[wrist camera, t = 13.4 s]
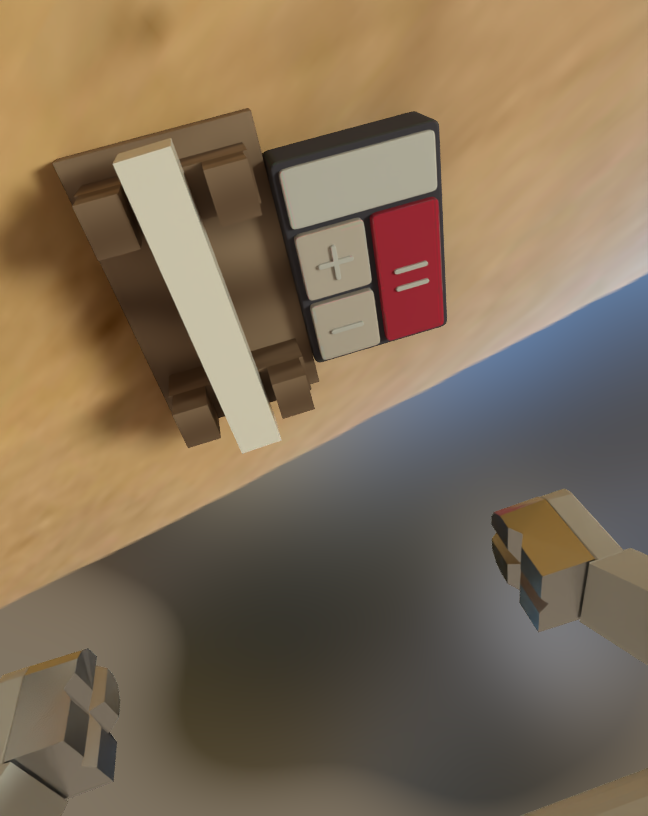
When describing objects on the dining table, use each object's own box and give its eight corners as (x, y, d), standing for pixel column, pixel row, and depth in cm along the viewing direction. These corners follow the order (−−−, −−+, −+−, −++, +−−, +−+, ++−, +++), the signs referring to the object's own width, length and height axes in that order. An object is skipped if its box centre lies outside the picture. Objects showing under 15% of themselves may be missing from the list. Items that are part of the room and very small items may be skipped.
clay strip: (117, 153, 28) (112, 163, 26) (170, 137, 29) (170, 146, 26) (238, 429, 40) (242, 453, 38) (275, 416, 40) (281, 440, 38)
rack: (57, 159, 32) (31, 182, 26) (248, 108, 33) (263, 120, 27) (177, 414, 44) (178, 468, 38) (315, 372, 44) (335, 419, 39)
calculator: (318, 370, 40) (270, 167, 31) (306, 342, 44) (259, 151, 34) (452, 330, 41) (444, 120, 32) (430, 305, 45) (418, 109, 35)
